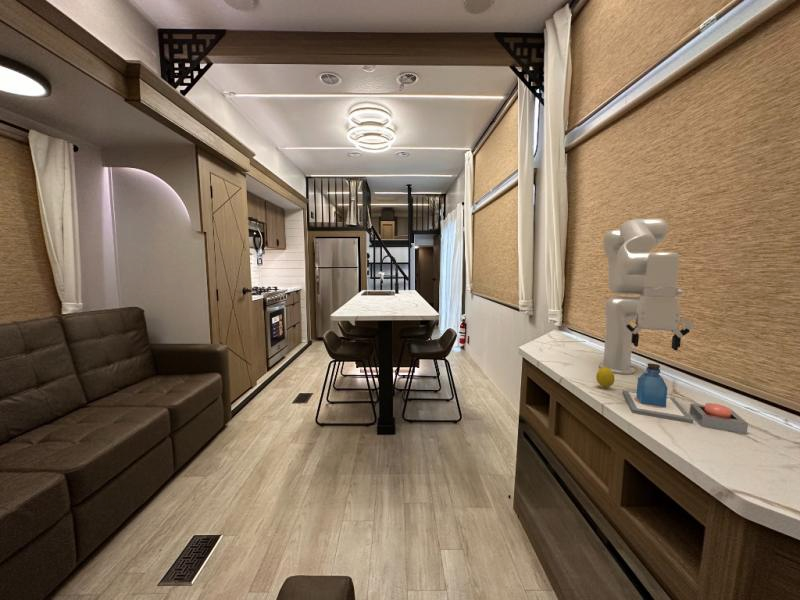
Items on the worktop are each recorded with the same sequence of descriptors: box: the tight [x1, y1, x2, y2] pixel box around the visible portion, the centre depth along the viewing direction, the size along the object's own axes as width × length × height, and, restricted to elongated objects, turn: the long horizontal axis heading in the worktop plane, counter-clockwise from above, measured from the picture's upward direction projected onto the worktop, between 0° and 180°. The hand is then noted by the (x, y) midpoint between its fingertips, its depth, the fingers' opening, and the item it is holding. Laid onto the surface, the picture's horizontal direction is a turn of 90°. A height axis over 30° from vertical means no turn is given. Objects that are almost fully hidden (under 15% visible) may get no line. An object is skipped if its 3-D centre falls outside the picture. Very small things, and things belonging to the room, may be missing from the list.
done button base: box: [689, 403, 749, 435], centre depth 88 cm, size 9×9×3 cm
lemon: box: [595, 367, 615, 389], centre depth 113 cm, size 6×6×8 cm
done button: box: [704, 402, 732, 419], centre depth 88 cm, size 5×5×3 cm
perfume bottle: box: [636, 363, 668, 408], centre depth 98 cm, size 6×6×12 cm
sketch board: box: [621, 389, 694, 424], centre depth 98 cm, size 17×14×1 cm
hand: (654, 347), depth 97 cm, fingers open, 9 cm apart
